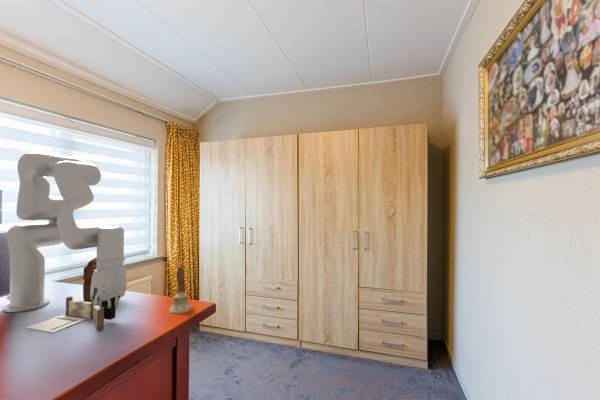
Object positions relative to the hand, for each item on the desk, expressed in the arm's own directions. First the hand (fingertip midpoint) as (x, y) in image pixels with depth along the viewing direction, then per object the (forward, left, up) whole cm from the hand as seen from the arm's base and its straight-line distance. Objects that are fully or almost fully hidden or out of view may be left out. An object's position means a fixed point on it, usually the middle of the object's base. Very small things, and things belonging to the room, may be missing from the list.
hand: (109, 318), depth 94 cm
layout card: (-15, -6, -1) cm, 16 cm away
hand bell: (+15, +16, -2) cm, 22 cm away
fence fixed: (-14, +1, -1) cm, 14 cm away
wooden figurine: (-21, +14, -2) cm, 25 cm away
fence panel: (-2, -3, -1) cm, 3 cm away
